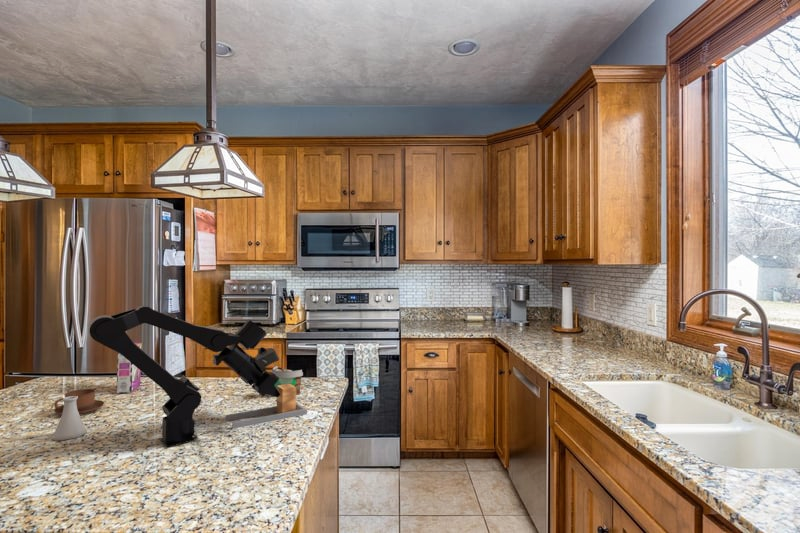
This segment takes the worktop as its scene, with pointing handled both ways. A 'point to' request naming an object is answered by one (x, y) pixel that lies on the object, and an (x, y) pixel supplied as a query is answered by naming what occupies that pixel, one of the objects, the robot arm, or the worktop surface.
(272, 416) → the channel board
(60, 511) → the worktop surface
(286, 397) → the orange block
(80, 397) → the cup and saucer
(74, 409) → the flask
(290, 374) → the food container
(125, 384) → the candy bar box
